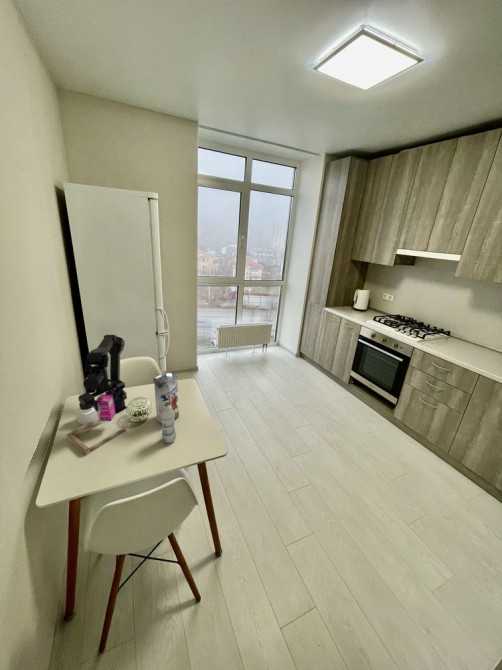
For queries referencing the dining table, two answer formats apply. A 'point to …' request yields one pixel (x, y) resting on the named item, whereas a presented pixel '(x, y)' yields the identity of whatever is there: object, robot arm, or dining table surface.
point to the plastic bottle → (167, 423)
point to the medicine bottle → (86, 414)
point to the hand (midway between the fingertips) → (105, 406)
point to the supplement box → (105, 407)
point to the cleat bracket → (73, 434)
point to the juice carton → (166, 392)
